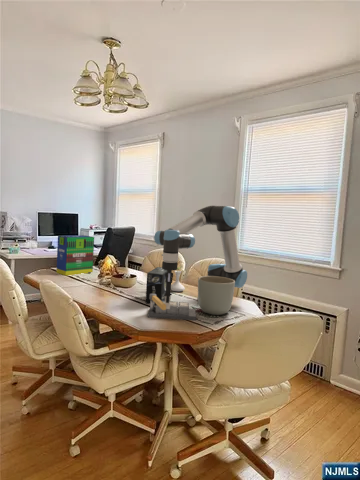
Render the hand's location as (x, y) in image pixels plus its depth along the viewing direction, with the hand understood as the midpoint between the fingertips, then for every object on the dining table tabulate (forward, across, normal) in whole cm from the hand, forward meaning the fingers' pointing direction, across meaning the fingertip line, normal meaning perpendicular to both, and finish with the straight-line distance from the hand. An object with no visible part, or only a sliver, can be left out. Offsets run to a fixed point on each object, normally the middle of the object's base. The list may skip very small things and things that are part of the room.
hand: (167, 308), depth 169 cm
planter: (+8, -26, +27) cm, 38 cm away
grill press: (+8, -16, +3) cm, 18 cm away
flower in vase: (+8, -73, +5) cm, 73 cm away
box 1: (+8, -114, -78) cm, 138 cm away
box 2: (+8, -45, -6) cm, 46 cm away
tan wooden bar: (0, -7, -5) cm, 9 cm away
